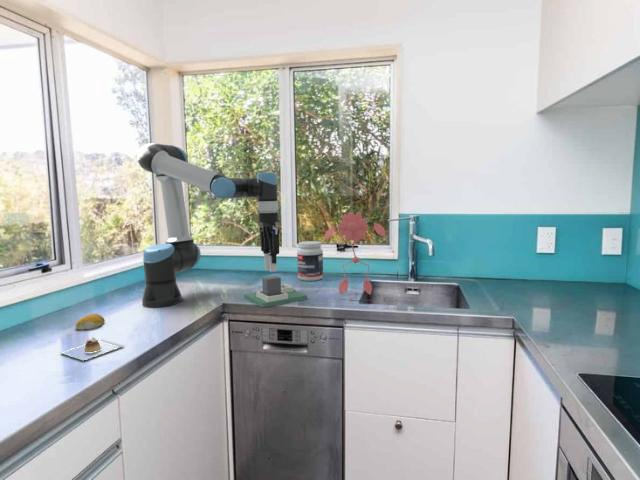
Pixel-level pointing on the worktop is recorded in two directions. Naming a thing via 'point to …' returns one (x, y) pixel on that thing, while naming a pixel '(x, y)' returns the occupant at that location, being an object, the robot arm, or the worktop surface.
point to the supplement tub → (310, 261)
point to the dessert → (93, 347)
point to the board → (276, 297)
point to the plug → (271, 285)
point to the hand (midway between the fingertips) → (270, 270)
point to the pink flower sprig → (354, 231)
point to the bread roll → (90, 322)
